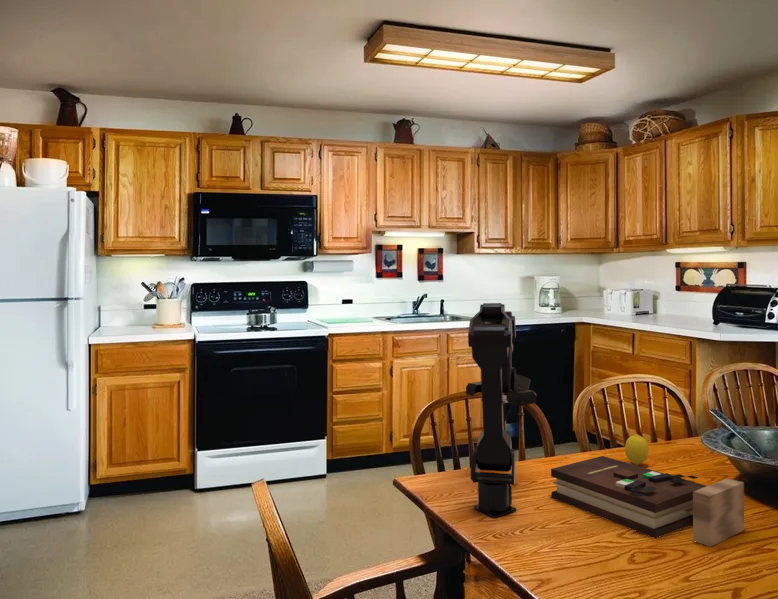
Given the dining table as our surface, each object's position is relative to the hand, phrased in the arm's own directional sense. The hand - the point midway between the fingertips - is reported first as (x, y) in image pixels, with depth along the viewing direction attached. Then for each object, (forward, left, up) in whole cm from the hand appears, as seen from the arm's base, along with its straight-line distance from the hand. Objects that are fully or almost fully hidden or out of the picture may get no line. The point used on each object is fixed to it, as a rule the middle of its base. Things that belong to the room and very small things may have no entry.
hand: (500, 428), depth 145 cm
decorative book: (+8, -29, -13) cm, 32 cm away
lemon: (+34, -14, -12) cm, 38 cm away
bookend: (+9, -47, -12) cm, 50 cm away
